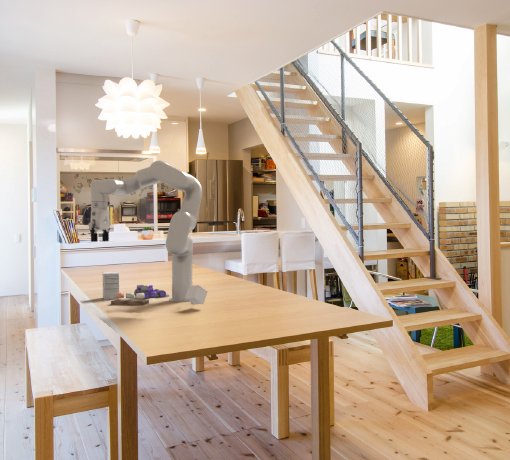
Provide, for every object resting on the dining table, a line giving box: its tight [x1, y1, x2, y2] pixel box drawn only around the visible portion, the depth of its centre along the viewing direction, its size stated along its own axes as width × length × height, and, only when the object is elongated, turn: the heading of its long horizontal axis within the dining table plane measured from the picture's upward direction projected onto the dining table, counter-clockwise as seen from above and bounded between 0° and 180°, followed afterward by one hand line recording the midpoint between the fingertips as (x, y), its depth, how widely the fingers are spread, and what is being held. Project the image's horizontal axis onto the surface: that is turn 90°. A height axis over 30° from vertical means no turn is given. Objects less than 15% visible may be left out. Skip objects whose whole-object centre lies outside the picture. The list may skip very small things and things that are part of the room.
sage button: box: [125, 292, 135, 299], centre depth 214 cm, size 4×4×2 cm
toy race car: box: [133, 284, 170, 300], centre depth 236 cm, size 10×15×6 cm, turn 127°
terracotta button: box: [116, 292, 125, 299], centre depth 215 cm, size 4×4×2 cm
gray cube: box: [185, 284, 208, 305], centre depth 208 cm, size 6×6×6 cm
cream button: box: [135, 293, 145, 300], centre depth 213 cm, size 4×4×2 cm
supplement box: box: [102, 271, 120, 301], centre depth 233 cm, size 7×7×13 cm
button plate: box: [110, 298, 150, 306], centre depth 214 cm, size 16×6×2 cm, turn 77°
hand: (100, 241), depth 231 cm, fingers open, 9 cm apart
